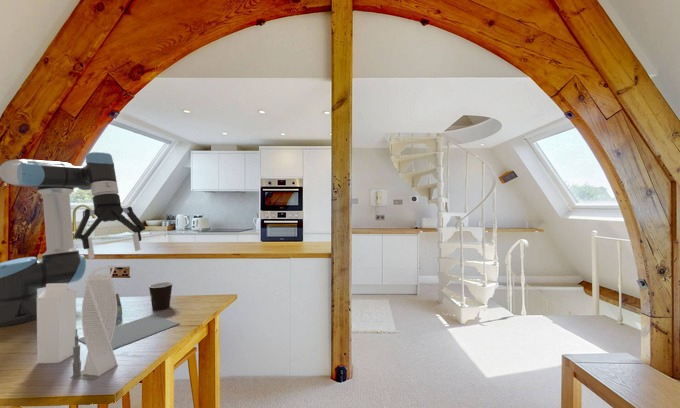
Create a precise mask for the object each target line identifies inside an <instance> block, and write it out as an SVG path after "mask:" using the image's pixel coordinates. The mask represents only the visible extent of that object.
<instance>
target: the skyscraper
mask: <svg viewBox="0 0 680 408" xmlns="http://www.w3.org/2000/svg"><path fill="white" fill-rule="evenodd" d="M115 268H116V267H115V266H111V265H110V266H108V265H107V266H104V267H99V268H97V269H95V270H93V271H92V272H90V274H89V275H88V276H87V279H86V281H85V283H86V284H85V289H84V293H83V297H82V298H83V299H82V305H81V325H82V332H83V337H84V338H85V342H86V344H85V346H86V348H87V354H86V358H85V363H84V367H83V370H82V360H81V344H79V341H78V339H79V335H78V329H77V328H76V336H75V346H73V355H72V357H73V358H72V359H73V362H72V363H71V364H72V376H71V377H70V379H76V380H77V379H78V380H87V381H95V380H96V379H98V378H99V377H101V376H103V375H105V374H106V373H108V372H109V371H112V370H113V369H114V368H116V367H118V362H117V358H116V356H115V352H114V350H113V349H112V346H111V340H112V337H113V333H114V329H115V327H116V326H117V325H116V324H117V321H116V319H117V299H116V294H117V293H116V290H115V286H114V283H113V280H112V277H113V274H114V271H115ZM105 269H111V272H110V274H109V275H108V274H107V273H97V274H95V273H96V272H98V271H101V270H105Z"/></svg>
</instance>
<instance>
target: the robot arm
mask: <svg viewBox="0 0 680 408" xmlns="http://www.w3.org/2000/svg"><path fill="white" fill-rule="evenodd" d="M85 163H86V165H85V166H75V165H73V164H72V163H69V162H63V161H55V160H54V161H53V160H40V159H28V158H19V159H16V158H15V159H8V160H6V161H4V162H1V163H0V180H1V182H4V183H5V184H9V185H11V186H16V187H25V188H36V190H37V193H38V194H40V195H41V196H42V203H43V216H44V228H45V243H46V244H45V245H46V250H45V252H44V253H43V254H42V255H41V257H42V258H41V259H38V258H37V256H28V257H21V258H15V259H11V260H8V261H7V260H6V261H3V262H0V328H1V327H8V326H13V325H19V324H24V323H27V322H29V321H33V320H37V297H38V296H39V295H38V289H42V288H43V289H44V288H46V284H56V283H67V285H68V284H71V283H75V282H79V281H80V280H81V279H82V278H83V277H84V274H85V271H86V267H87V262H86V258H85V255H84V254H80V250H79V249H77V248H75V247H74V246H75V244H74V240H75V239H78V240H81V242H82V248H83V250H87V256H88V260H92V259H94V258H95V257H96V256H95V252H94V245H93V239H92V237H90V236H91V234H93V232H94V231H95V230H96V229H97V227H98V226H99V225H100V224H101V223H102V222H104V223H107V222H115V221H117V222H120V223H121V224H122V225H124V227H126V228H128V229H129V230H131V231H132V232H133V233H132V234H131V236H132V239H133V246H134V251H135V252H137V251H141V241H142V235H141V232H142V231H145V230H146V226H145V225H144V224H143V223H142V221H141V220H140V218H138V216H137V215H136V214H135V212H134V210H133V207H132V206H128V207H122V204H121V198H120V195H119V193H120V191H119V187H118V181H117V176H116V170H115V163H114V158H113V156H112V154H110V153H109V152H105V151H92V152H89V153H87V154H86V155H85ZM76 188H77V189H79V190H82V191H90V192H91V196H92V201H93V202H92V204H93V209H89V208H86V209H85V210H83V211H82V218H81V219H80V220H81V221H80V222H79V225H78V227H77V229H76V231H75V233H74V232H73V219H72V211H71V210H72V209H71V208H72V207H71V197H70V196H71V194H72V193H74V192H75V190H74V189H76ZM123 213H124V214H126V215H127V217H128V218H129V219H130V220H129V219H127V218H126V216H124V215H123ZM93 215H95V217H96V219H95V220H94V221H93V223H92V224H91V225H90V227H88V229H87V230H86V231H85V232H84V230H85V228H86V227H87V226H86V225H87V223H88V222H89V220H90V217H91V216H93ZM131 221H132V222H131ZM73 233H74V234H73ZM83 233H84V234H83Z"/></svg>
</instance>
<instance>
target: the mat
mask: <svg viewBox="0 0 680 408" xmlns="http://www.w3.org/2000/svg"><path fill="white" fill-rule="evenodd" d="M179 325H180V323H179V322H176V321H173V320H170V319H167V318H164V317H161V316H157V315H154V314H151V315H148V316H147V315H146V316H144V317H141V318H138V319H135V320H131V321H129V322H126V323H122V324H120V325H115V329H114V333H113V337H112V340H111V346H112V349H114V350H116V349H118V347H119V348H122V347H124V346H127V345H129V344H132V343H134V342H137V341H140V340H142V339H145V338H147V337H150V336H153V335H155V334H157V333H161V332H163V331H167V330H169V329H170V328H174V327H177V326H179ZM78 342H80V343H82V344H85V345H86V342H85V338H84V336H83V337H78ZM121 346H122V347H121ZM115 348H116V349H115Z"/></svg>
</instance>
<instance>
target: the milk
mask: <svg viewBox="0 0 680 408" xmlns="http://www.w3.org/2000/svg"><path fill="white" fill-rule="evenodd" d="M76 294H77V291H76V290H73V289H70V288H68V284H67V283H56V284H46V287H45V289H44V290H43V291H42V292H41V293H40V294H39V295H37V296H38V297H37V318H36V338H37V341H36V343H37V349H36V351H37V358H36V359H37V364H59V363H61V362H63V361H65V360H67V359H68V358H70V357H72V356H73V346H75V336H76V329H77V300H76V299H77V296H76Z"/></svg>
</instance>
